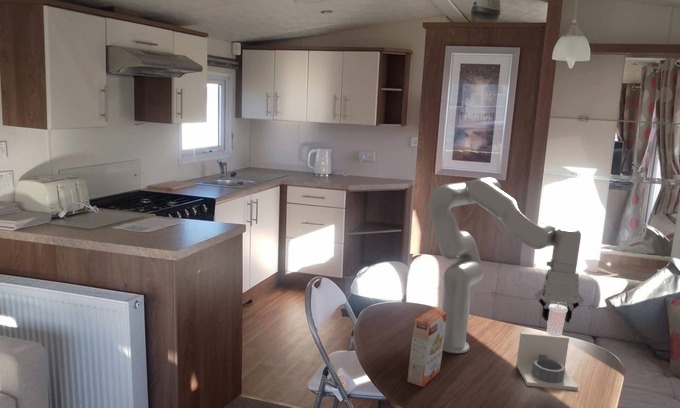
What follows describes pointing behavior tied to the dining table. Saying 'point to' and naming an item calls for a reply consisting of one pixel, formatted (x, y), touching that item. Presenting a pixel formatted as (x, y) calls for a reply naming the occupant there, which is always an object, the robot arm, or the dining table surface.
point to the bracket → (544, 361)
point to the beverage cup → (556, 319)
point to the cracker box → (426, 347)
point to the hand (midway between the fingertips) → (556, 319)
